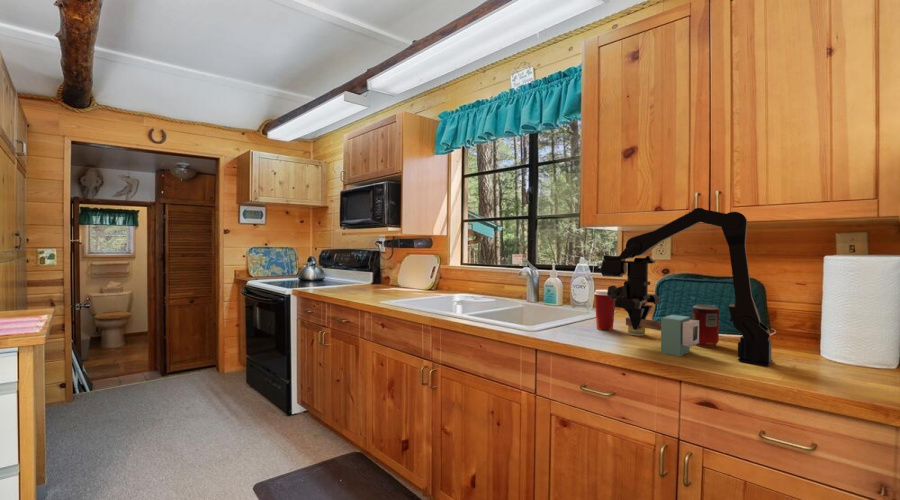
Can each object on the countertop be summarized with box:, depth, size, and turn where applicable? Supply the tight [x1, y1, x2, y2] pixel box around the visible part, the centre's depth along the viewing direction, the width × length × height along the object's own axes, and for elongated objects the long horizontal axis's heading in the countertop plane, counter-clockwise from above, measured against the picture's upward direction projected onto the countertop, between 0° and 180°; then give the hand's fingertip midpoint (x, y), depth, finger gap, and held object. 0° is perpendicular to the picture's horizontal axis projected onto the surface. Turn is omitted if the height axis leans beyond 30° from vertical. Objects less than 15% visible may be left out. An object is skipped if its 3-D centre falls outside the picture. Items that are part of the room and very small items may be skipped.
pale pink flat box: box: [682, 319, 699, 348], centre depth 118 cm, size 2×6×6 cm, turn 133°
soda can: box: [691, 303, 720, 348], centre depth 130 cm, size 7×7×12 cm
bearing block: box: [660, 314, 691, 357], centre depth 121 cm, size 5×8×10 cm, turn 133°
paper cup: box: [593, 289, 616, 331], centre depth 155 cm, size 8×8×14 cm
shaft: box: [625, 316, 695, 335], centre depth 125 cm, size 19×2×2 cm, turn 43°
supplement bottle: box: [627, 313, 646, 337], centre depth 145 cm, size 5×5×10 cm
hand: (637, 329), depth 129 cm, fingers closed on shaft, 2 cm apart
